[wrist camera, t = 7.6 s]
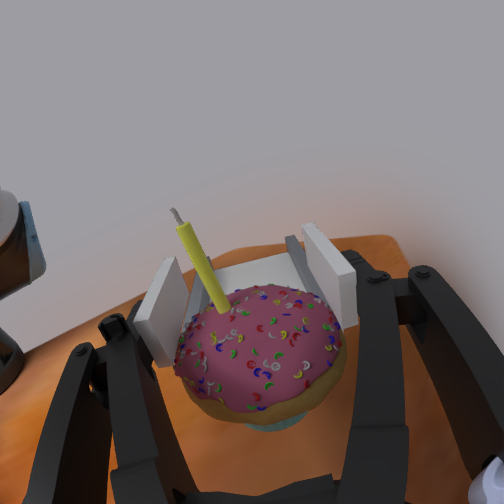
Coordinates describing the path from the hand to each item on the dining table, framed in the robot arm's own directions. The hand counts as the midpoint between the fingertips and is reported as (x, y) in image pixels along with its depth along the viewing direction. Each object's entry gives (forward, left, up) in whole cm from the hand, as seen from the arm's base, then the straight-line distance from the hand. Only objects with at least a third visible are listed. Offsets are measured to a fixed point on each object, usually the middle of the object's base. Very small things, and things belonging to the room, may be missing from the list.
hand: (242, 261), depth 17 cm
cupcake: (+3, -4, -7) cm, 9 cm away
